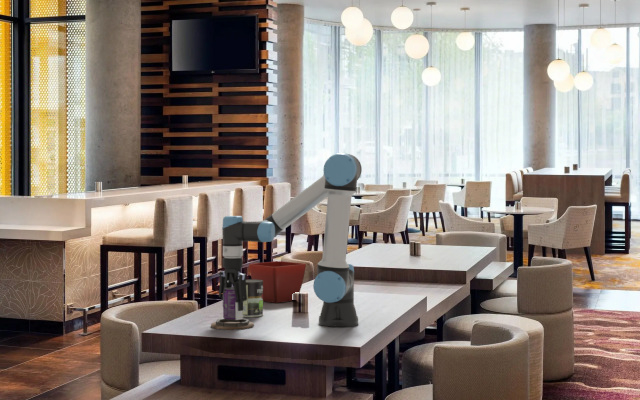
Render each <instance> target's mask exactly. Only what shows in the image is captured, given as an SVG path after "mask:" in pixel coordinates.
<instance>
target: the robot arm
mask: <svg viewBox="0 0 640 400" xmlns="http://www.w3.org/2000/svg"><path fill="white" fill-rule="evenodd" d="M362 171H363V170H362V163H361V162H360V160H359V159H358V158H357V157H356V156H354V155H353V154H350V153H349V154H348V153H346V152H345V153H344V152H337V153H334V154H332V155H331V156H330V157H328V158H327V159H326V161H325V162H324V166H323V174H322V176H321V177H319V178H318V179H317V180H316V181H314V182H313V183H312V184H310V185H309V186H308V187H306V188H305V189H304V190H302V191H301V192H299V193H298V194H297V195H296V196H294V197H293V198H292V199H290V200H289V201H288V202H286V203H285V204H284V205H282V206H281V207H279V208H278V209H276V210H275V211H274V212H273V213H272V214H270V215H269V216H267V217H266V218H264V219H263V220H260V221H245V220H243V219H244V218H243V216H242V215H226V216H224V217H223V219H222V226H221V228H222V229H221V230H222V257H223V258H222V268H224V270H223V271H219V288H218V297H219V298H221V300H222V301H223V292H224V290H225V287H227V288H229V287H234V289H235V294H236V299H237V301H235V309H236V320H240V319H244V317H243V302H244V301H246V300H247V291H246V280H247V274H246V273H242V271H241V269H242V268H243V266H244V265H243V262H244V260H243V257H242V256H244V249H243V246H244V245H243V242H250V243H251V242H253V243H254V242H255V243H256V242H257V243H268V242H269V243H270V242H273V241H274V239H275V238H276V237H277V236H278V235H279V234H280V233H281V232H282V231H284V230H285V229H286V228H288V227H289V226H291V225H292V224H293V223H294V222H296V221H297V220H299V219H300V218H301V217H303V216H304V215H305V214H307V213H308V212H310V211H311V210H312V209H314V208H315V207H317V205H319V204H320V203H322V202H323V201H325V200H326V199H327V202H326V203H327V204H326V215H325V224H324V225H325V226H324V237H323V248H322V258H321V260H320V261H319V262H317V266H316V267H317V268H316V276H315V278H314V281H313V283H312V284H313V285H312V286H313V291H314V294H315V296H316V297H317V298H318V299H319V300H320V301H322V307H321V311H320V315H319V317H318V324H319V325H320V326H324V327H332V328H333V327H335V328H343V327H345V328H348V327H353V326H357V325H359V316H358V314H357V310H356V307H355V302H354V301H355V300H354V299H355V294H354V291H355V269H354V268H355V267H354V265H353V264H351V263H348V262H347V250H348V249H347V248H348V238H349V228H350V217H351V206H352V205H351V204H352V196H353V195H354V194H355V193H357V185H358V184H357V183H358V180H359V179H360V178H361V175H362ZM239 298H240V299H239Z"/></svg>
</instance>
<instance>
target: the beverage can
mask: <svg viewBox="0 0 640 400" xmlns="http://www.w3.org/2000/svg"><path fill="white" fill-rule="evenodd" d="M222 294H223V300H222V313H223V314H222V319H226V320H229V321H236V309H235V301H237V299H236V294H235V289H234V286H231V287H229V288H227V287H225V290H224V292H223V293H222ZM239 299H240V298H239Z"/></svg>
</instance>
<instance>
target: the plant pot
mask: <svg viewBox="0 0 640 400" xmlns="http://www.w3.org/2000/svg"><path fill="white" fill-rule="evenodd" d="M306 265H307V263H304V262H303V263H301V262H292V261H281V260H278V261H268V262H267V261H266V262H264V261H263V262H257V263H254V262H253V263H248V268H249V272H250V277H251V278H250V279H256V280H263V302H266V303H273V304H279V303H285V302H293V301H292V294H293V293H295V292H299V293H301V289H302V286H303V283H304V279H305V273H306V267H307V266H306Z"/></svg>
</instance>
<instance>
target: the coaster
mask: <svg viewBox="0 0 640 400" xmlns="http://www.w3.org/2000/svg"><path fill="white" fill-rule="evenodd" d="M254 326H255V323H254V322H253V321H250V319H247V318H243V319H240V320H236V321H229V320H226V319H224V318H219V319H217V320H216V321H214V322H212V323H210V327H211V328H212V329H214V330H215V329H216V330H221V329H226V331H235V330H234V329H241V330H246V329H247V328H248V329H252V328H253V327H254ZM248 329H247V330H248Z"/></svg>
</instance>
